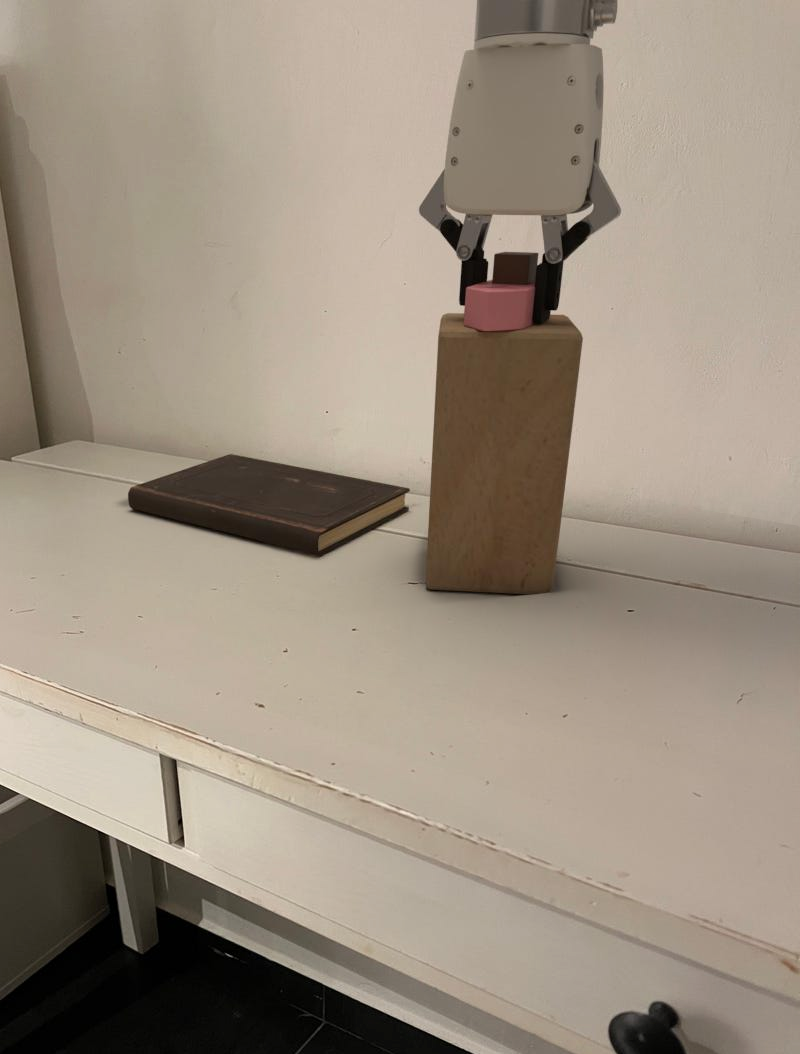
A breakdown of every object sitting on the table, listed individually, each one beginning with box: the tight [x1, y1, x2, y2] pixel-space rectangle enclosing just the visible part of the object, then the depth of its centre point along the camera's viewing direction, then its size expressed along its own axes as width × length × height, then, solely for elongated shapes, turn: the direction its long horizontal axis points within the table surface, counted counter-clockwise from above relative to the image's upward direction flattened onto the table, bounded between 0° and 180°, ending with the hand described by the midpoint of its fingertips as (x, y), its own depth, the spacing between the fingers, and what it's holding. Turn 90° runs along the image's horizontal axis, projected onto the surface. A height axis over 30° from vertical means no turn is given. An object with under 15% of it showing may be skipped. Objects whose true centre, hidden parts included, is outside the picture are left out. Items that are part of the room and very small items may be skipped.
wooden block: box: [424, 312, 584, 595], centre depth 72 cm, size 10×10×20 cm
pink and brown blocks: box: [463, 251, 539, 331], centre depth 66 cm, size 10×4×5 cm, turn 155°
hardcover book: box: [127, 453, 411, 557], centre depth 91 cm, size 16×23×2 cm
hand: (507, 316), depth 68 cm, fingers closed on pink and brown blocks, 4 cm apart
